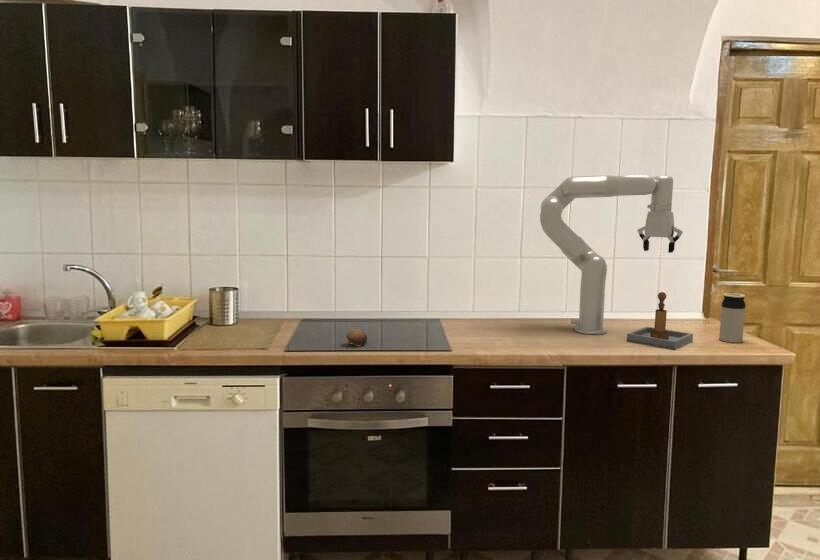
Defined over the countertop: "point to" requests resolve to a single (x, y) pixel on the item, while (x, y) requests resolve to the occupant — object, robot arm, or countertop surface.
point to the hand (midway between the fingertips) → (658, 251)
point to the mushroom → (356, 337)
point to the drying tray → (672, 343)
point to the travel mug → (732, 318)
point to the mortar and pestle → (660, 319)
